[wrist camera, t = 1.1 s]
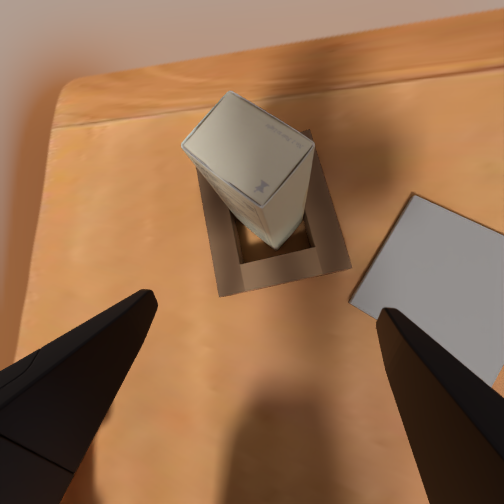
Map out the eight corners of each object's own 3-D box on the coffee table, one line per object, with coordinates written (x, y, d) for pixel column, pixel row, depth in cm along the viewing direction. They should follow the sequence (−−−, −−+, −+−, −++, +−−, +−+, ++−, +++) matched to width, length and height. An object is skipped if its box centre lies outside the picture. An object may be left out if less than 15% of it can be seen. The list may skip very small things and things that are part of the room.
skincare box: (303, 221, 22) (324, 143, 10) (275, 253, 22) (263, 213, 10) (258, 186, 24) (230, 83, 12) (231, 217, 23) (176, 143, 12)
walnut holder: (226, 296, 22) (218, 297, 20) (204, 175, 25) (195, 163, 22) (344, 270, 21) (352, 268, 18) (307, 145, 23) (309, 129, 21)
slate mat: (483, 385, 18) (490, 388, 17) (348, 302, 20) (350, 302, 20) (550, 261, 18) (558, 261, 18) (411, 197, 21) (414, 194, 20)
